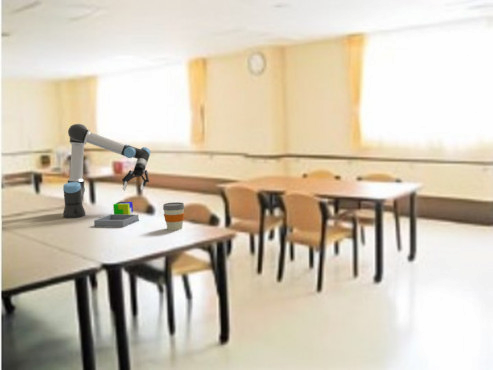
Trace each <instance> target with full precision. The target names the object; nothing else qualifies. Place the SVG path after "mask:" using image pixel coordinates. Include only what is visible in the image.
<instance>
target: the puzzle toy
mask: <svg viewBox="0 0 493 370" xmlns="http://www.w3.org/2000/svg"><path fill="white" fill-rule="evenodd" d="M112 207H113V214H124V215H134V209H133V208H134V207H133V201H118V202H116V203H113V205H112Z"/></svg>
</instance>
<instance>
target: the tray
mask: <svg viewBox="0 0 493 370" xmlns="http://www.w3.org/2000/svg"><path fill="white" fill-rule="evenodd" d="M139 221H140V220H139V214H133V215H124V214H114V213H111V214H108V215H105V216H102V217H99V218H97V219H94V220H93V223H94V228H95V227H96V228H97V227H102V228H125V227H127V226H131V225H132V224H134V223H136V222H139Z"/></svg>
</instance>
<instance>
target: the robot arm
mask: <svg viewBox="0 0 493 370" xmlns="http://www.w3.org/2000/svg"><path fill="white" fill-rule="evenodd" d="M67 134H68V137H69V143H70V145H71V150H70V151H71V154H70V172H69V178H68V179H67V183H64V184H63V188H62V189H63V200H64V209H63V213H62V216H63V217H62V218H65V219H75V218H81V217H85V216H86V210H85V208H84V206H83V196H84V194H85V192H86V188H85V180H84V178H83V173H84V155H85V153H84V151H85V145H86V144H90V145H93V146H96V147H99V148H101V149H104V150H107V151H110V152H112V153H115V154H117V155H121V156H124V157H125V158H127V159H132V158H134V159H137V160H136V162H135V165H134V168H133V170H129V171H128V173H126V175H125V176H124V177H123V178H122V179H121V181H122V182H123V183H122V190H123V191H124V192H125V191H126V189H127V186H128V183H129V182H130V181H131V180H133V179H134V178H141V179H142V181H141V185H140V191H141V192H142V191H143V190H144V187H145V186H146V184H147V183H149V182H150V180H149V173H148V170H147V169H146V168H147V164H148V161H149V158H150V155H151V150H150V148H148V147H141V148H137V147H135V146H133V145H129V144H123V143H120V142H118V141H116V140H113V139H110V138H108V137H104V136H102V135H99V134H96V133H93V132H91V130H90V129H88V128H87V126H85V125H84V124H81V123H74V124H71V126H70V127H69V128H68V130H67ZM143 175H145V177H144V176H143Z"/></svg>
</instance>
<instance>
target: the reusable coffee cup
mask: <svg viewBox="0 0 493 370" xmlns="http://www.w3.org/2000/svg"><path fill="white" fill-rule="evenodd" d="M162 208H163V209H162V210H163V217H164V222H165V223H166V229H167V231H180V230H182V229H183V223H184V220H185V218H184V217H185V212H184V211H185V210H184V209H185V205H184V202H174V201H173V202H166V203H163V207H162ZM179 229H180V230H179Z"/></svg>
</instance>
